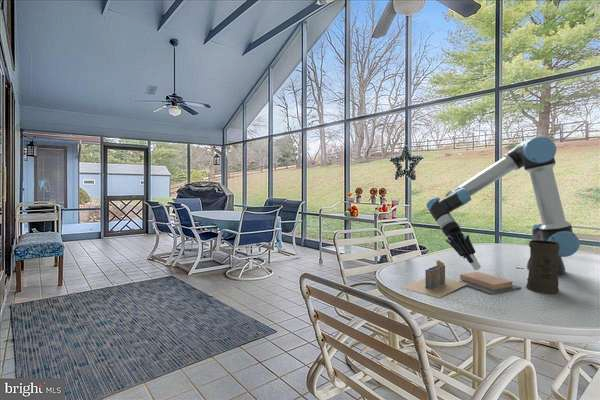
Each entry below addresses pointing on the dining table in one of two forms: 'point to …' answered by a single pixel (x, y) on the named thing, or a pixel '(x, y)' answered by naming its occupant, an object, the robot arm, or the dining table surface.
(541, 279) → the beer stein
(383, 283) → the dining table surface
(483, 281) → the tile
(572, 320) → the dining table surface
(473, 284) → the mat
